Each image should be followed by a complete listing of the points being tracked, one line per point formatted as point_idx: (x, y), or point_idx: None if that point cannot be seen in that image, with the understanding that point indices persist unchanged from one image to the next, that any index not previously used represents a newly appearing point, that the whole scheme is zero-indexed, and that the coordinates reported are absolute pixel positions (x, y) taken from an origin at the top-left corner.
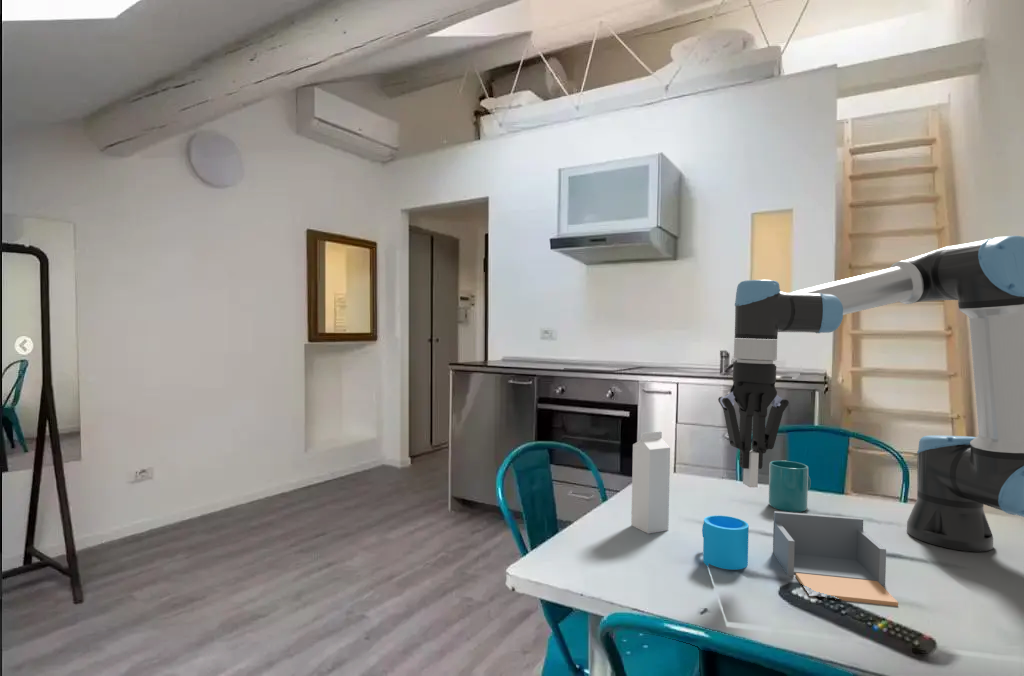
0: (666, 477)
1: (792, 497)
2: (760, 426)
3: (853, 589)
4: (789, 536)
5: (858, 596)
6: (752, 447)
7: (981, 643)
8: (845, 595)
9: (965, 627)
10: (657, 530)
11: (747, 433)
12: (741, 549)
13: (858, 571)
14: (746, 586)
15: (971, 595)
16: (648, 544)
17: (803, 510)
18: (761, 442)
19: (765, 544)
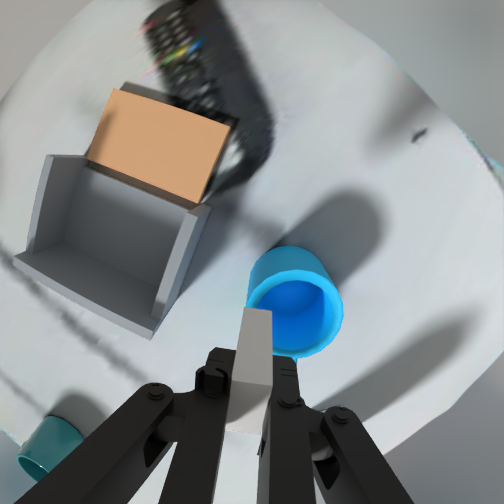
0: (315, 484)
1: (56, 433)
2: (199, 496)
3: (144, 131)
4: (178, 241)
5: (155, 107)
6: (223, 435)
7: (100, 18)
8: (174, 111)
9: (80, 50)
10: (323, 411)
11: (300, 466)
12: (283, 257)
13: (86, 199)
14: (308, 192)
15: (8, 134)
16: (368, 369)
17: (50, 416)
18: (206, 417)
19: (161, 342)
